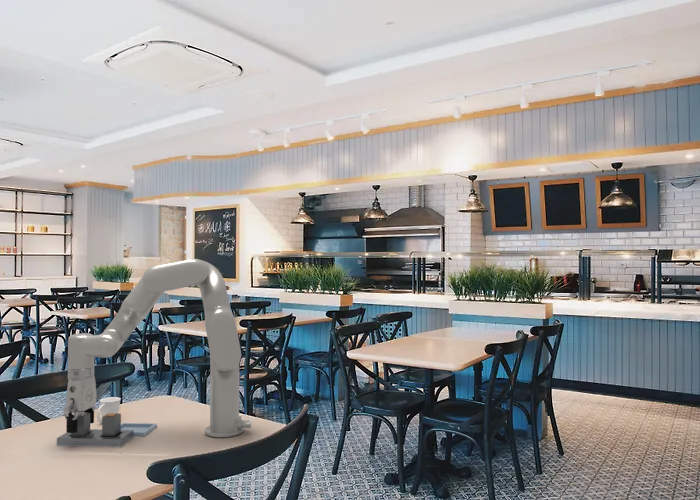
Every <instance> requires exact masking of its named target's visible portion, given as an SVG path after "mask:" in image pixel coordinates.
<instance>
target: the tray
mask: <svg viewBox="0 0 700 500" xmlns="http://www.w3.org/2000/svg"><path fill="white" fill-rule="evenodd" d="M157 428H158V423H154V422H153V423H149V422H148V423H147V422H146V423H144V422H121V430H133V437H146V436H147V435H149V434H150V433H151V432H153V431H155V429H157Z"/></svg>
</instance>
